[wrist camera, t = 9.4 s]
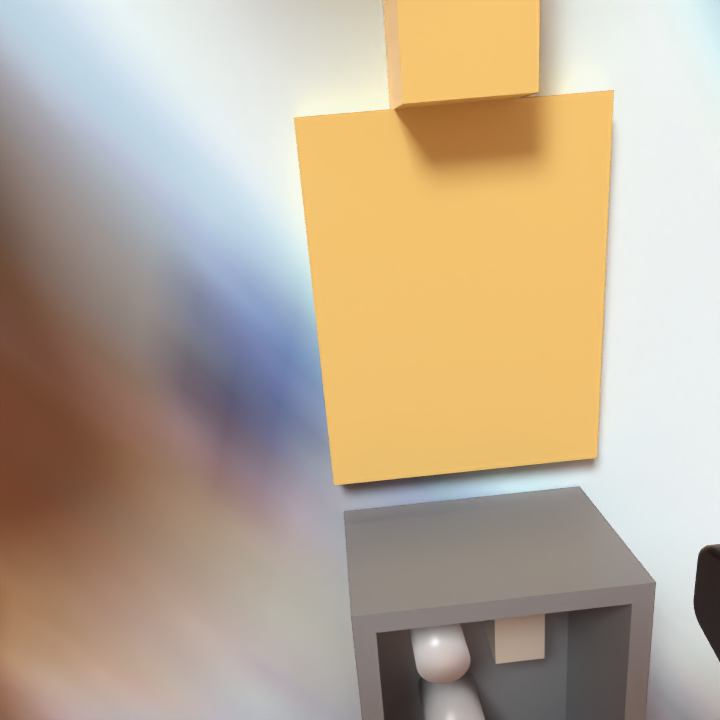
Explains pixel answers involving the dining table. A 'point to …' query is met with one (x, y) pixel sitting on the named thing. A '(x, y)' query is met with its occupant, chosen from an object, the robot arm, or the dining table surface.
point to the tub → (498, 610)
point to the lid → (459, 252)
